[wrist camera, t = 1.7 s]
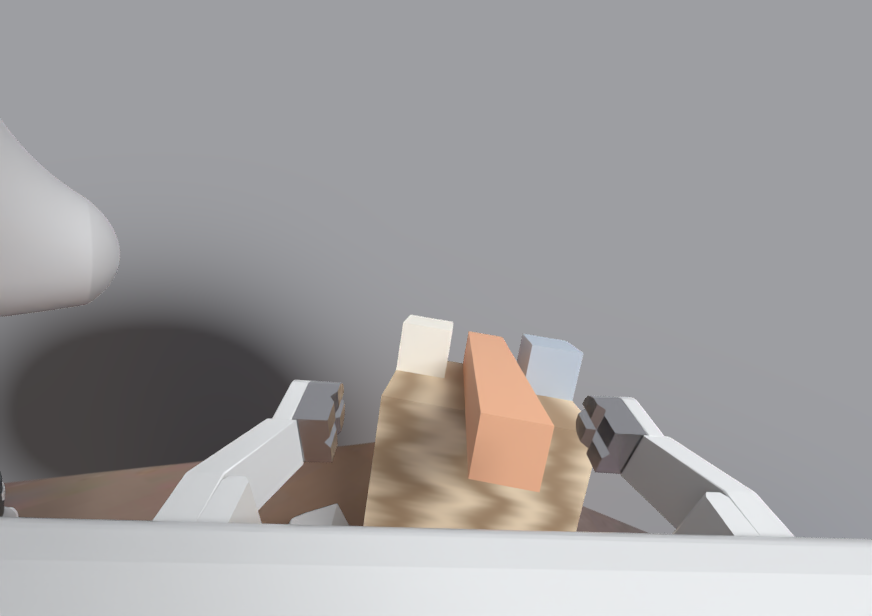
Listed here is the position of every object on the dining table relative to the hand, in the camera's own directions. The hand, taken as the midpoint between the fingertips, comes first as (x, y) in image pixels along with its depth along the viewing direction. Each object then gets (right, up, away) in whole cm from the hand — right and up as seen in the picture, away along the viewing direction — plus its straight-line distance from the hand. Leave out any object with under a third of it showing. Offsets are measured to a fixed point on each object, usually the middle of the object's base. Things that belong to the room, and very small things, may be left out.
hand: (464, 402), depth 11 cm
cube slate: (+10, -5, +24) cm, 27 cm away
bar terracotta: (+4, -5, +18) cm, 19 cm away
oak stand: (0, -30, +26) cm, 40 cm away
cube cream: (-2, -3, +25) cm, 25 cm away
